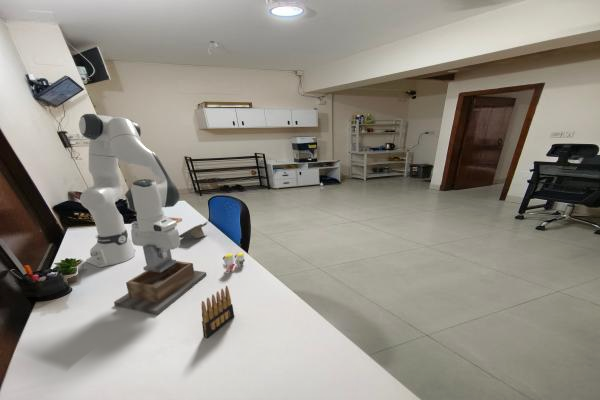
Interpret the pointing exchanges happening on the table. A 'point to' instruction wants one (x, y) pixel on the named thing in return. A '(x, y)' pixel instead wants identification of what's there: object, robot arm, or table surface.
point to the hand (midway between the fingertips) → (158, 256)
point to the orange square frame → (176, 219)
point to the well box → (159, 288)
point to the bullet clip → (216, 312)
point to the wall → (194, 231)
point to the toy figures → (229, 261)
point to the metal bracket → (156, 259)
